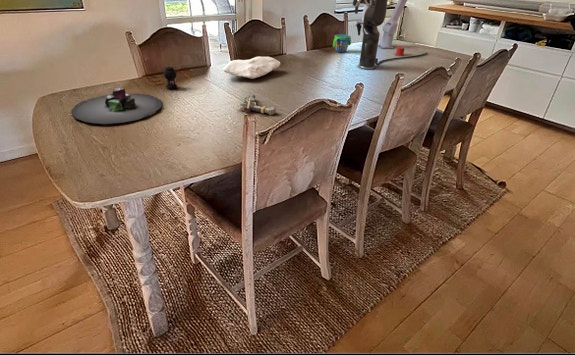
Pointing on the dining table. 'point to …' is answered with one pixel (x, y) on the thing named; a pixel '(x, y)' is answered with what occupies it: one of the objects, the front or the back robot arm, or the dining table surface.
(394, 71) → the dining table surface
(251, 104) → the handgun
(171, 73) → the gumball machine
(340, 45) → the snack cup
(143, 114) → the dark grey serving platter
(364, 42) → the front robot arm
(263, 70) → the crumpled cloth
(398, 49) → the red cube
